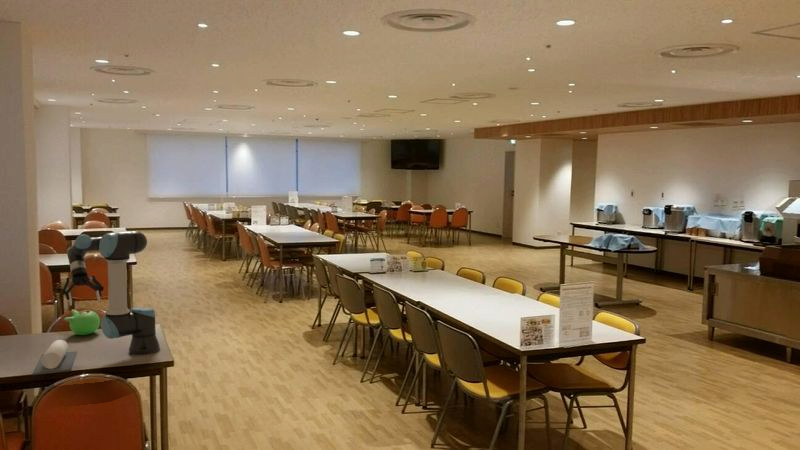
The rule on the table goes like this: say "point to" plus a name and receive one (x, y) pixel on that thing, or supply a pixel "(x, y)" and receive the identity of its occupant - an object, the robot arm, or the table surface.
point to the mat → (62, 367)
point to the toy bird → (83, 322)
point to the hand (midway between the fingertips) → (85, 302)
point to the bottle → (55, 354)
